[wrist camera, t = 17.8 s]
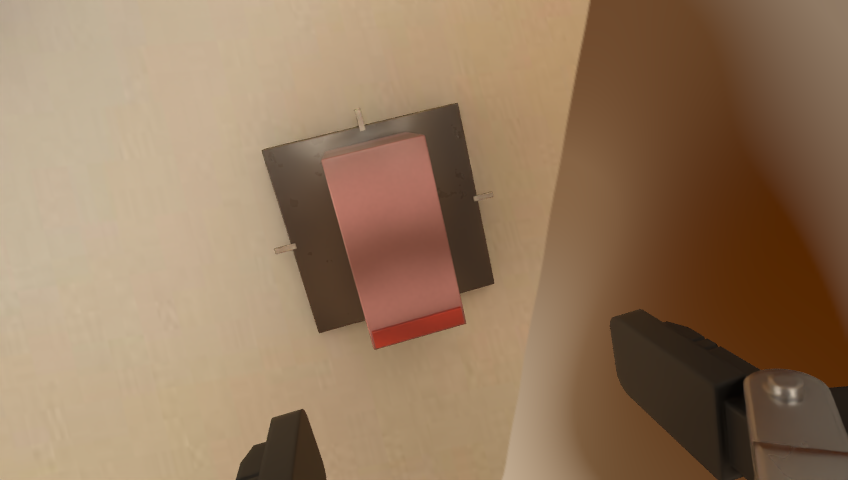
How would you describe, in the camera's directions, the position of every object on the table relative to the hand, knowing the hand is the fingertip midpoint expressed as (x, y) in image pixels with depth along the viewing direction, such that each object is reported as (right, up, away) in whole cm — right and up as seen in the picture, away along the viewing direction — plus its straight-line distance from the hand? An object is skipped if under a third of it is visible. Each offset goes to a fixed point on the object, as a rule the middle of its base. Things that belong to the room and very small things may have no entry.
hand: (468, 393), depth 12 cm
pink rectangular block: (-4, +5, +21) cm, 22 cm away
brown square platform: (-4, +6, +23) cm, 24 cm away
